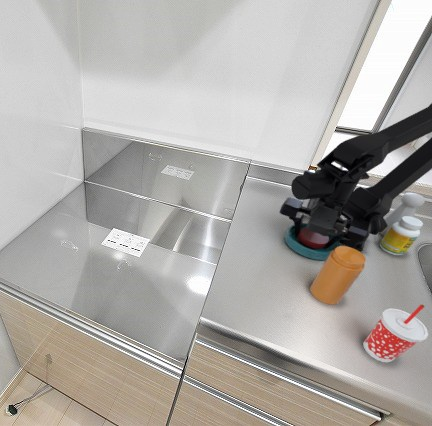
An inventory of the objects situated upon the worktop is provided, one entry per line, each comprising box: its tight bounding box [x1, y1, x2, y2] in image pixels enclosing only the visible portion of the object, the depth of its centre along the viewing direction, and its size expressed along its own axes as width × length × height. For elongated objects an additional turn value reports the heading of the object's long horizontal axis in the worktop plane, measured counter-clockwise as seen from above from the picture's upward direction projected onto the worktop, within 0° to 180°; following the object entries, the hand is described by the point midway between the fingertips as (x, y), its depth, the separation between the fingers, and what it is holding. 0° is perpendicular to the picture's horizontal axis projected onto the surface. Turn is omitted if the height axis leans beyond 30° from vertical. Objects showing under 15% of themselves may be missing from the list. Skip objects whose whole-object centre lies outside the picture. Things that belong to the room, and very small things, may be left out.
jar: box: [309, 245, 367, 306], centre depth 63 cm, size 6×6×12 cm
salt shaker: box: [379, 192, 426, 237], centre depth 78 cm, size 6×6×13 cm
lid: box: [298, 227, 329, 249], centre depth 78 cm, size 7×7×2 cm
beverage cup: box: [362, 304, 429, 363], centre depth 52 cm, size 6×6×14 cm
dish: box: [284, 222, 341, 261], centre depth 78 cm, size 12×12×3 cm
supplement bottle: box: [379, 216, 424, 256], centre depth 75 cm, size 5×5×10 cm
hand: (310, 242), depth 79 cm, fingers closed on lid, 6 cm apart
